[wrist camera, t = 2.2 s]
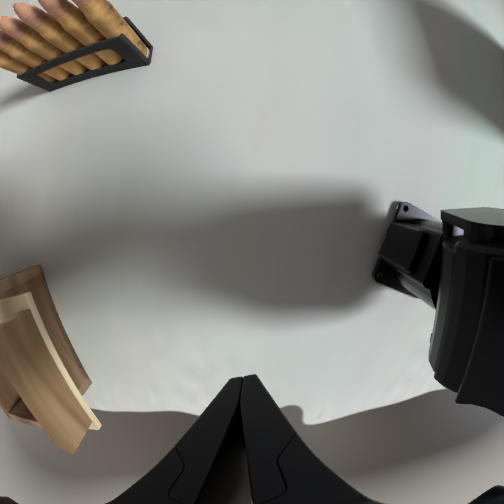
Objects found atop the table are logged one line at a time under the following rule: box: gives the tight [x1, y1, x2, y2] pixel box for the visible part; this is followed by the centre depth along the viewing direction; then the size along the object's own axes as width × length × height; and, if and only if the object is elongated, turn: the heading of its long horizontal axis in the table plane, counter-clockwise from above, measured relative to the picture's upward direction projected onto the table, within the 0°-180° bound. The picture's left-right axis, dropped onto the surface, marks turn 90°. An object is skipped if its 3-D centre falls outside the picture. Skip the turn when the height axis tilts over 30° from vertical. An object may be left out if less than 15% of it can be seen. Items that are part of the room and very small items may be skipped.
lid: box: [0, 292, 101, 454], centre depth 12 cm, size 8×11×4 cm
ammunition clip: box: [0, 0, 153, 92], centre depth 10 cm, size 11×2×12 cm, turn 89°
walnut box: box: [0, 265, 92, 429], centre depth 17 cm, size 9×13×8 cm
